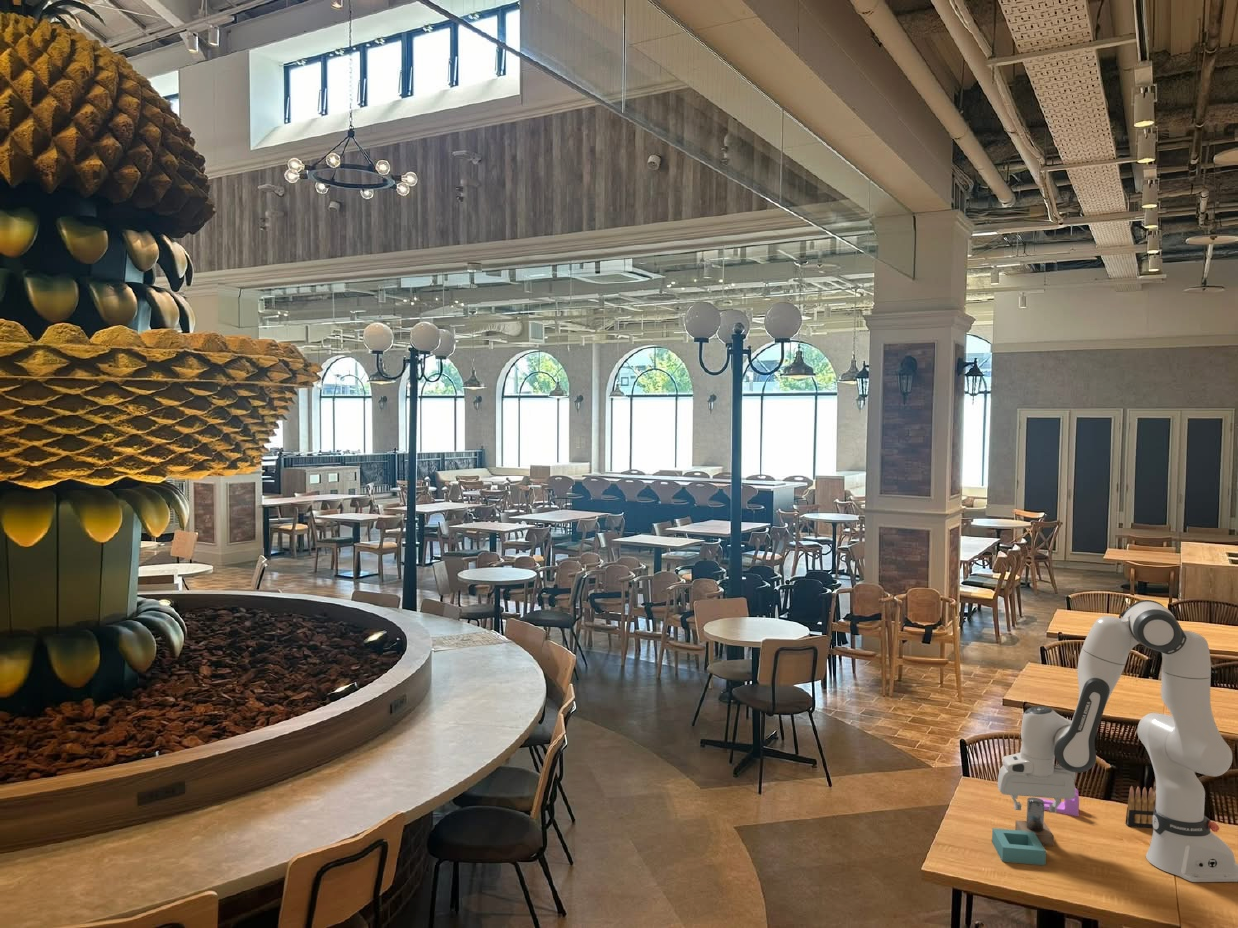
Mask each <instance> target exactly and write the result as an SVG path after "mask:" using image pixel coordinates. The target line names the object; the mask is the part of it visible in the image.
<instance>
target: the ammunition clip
mask: <svg viewBox="0 0 1238 928" xmlns="http://www.w3.org/2000/svg"><path fill="white" fill-rule="evenodd" d="M1141 794H1142V795H1141ZM1155 806H1156V790H1155V792H1154V790H1153V787H1152V786H1151V787H1150V788H1149V791H1147V788H1146V786H1144V787H1143V789H1142V793H1141V788H1140V786H1138V785H1137V788H1136V789H1135V791H1134V787H1133V785H1131V786H1130V787H1129V794H1128V799H1127V807H1126V815H1125V825H1126V826H1127V827H1128V828H1141V829H1144V828H1145V829H1153V811H1154V807H1155Z"/></svg>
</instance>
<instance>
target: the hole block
mask: <svg viewBox="0 0 1238 928" xmlns="http://www.w3.org/2000/svg"><path fill="white" fill-rule="evenodd" d="M991 843H992V845H993V847H994V849H995V850H996V853H997V854H998V856H999V859H1000V860H1001V862H1003V863H1004V862H1005V863H1014V864H1026V865H1037V866H1046V861H1047V860H1046V857H1047V851H1046V849H1045V847H1044V845H1042V844H1041V842H1040V841H1039V839H1038V838H1037V836H1036V834H1035V833H1034V832H1033V831H1020V830H1015V829H1005V828H996V827H995V828H994V827H993V828H992V834H991Z"/></svg>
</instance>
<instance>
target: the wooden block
mask: <svg viewBox="0 0 1238 928" xmlns="http://www.w3.org/2000/svg"><path fill="white" fill-rule="evenodd" d="M1026 822H1027V820H1015V826H1014V830H1020V831H1032V830H1029V829H1028V828H1027V827H1026ZM1033 832H1034V833H1035V834H1036V836H1037V838H1038V839H1039V841H1040V842H1041V844H1042V846H1048V847H1054V837H1055V836H1054V834H1053V832H1052V831H1051V830H1050V828H1049V826H1048V825H1047V823H1046V822H1044V825H1043V831H1041V832H1036V831H1033Z"/></svg>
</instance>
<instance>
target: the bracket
mask: <svg viewBox="0 0 1238 928" xmlns="http://www.w3.org/2000/svg"><path fill="white" fill-rule="evenodd" d="M1038 798H1039V799H1041V800H1043V801H1044V811H1048V812H1050V811H1049V808H1050V807H1049V804H1051V805H1052V804H1053V803H1054V801H1055V800H1052V799H1048V798H1043V797H1038ZM1063 800H1064V801H1061V803H1060V804H1059V806H1058V807H1057V812H1056V814H1057V813H1058V814H1064V815H1069V816H1073V817H1079V811H1080V797H1079V790H1078V789H1077V788H1076V787H1075V797H1074V798H1073V799H1063Z"/></svg>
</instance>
